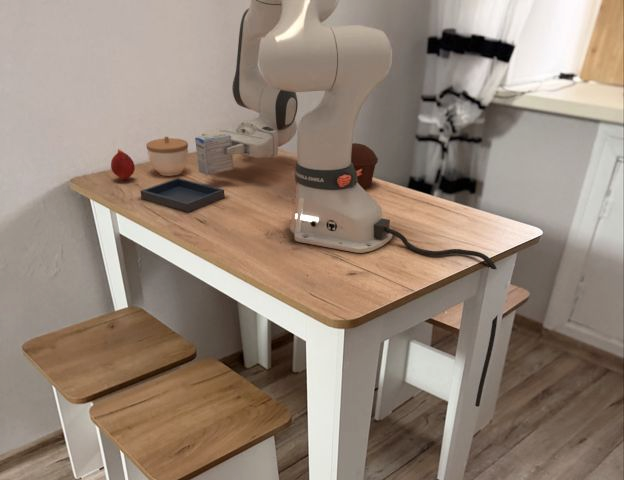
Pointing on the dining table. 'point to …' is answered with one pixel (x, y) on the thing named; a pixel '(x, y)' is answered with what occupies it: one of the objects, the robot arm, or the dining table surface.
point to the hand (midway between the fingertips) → (216, 149)
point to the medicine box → (213, 153)
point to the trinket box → (168, 155)
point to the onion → (122, 165)
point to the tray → (182, 194)
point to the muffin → (363, 163)
